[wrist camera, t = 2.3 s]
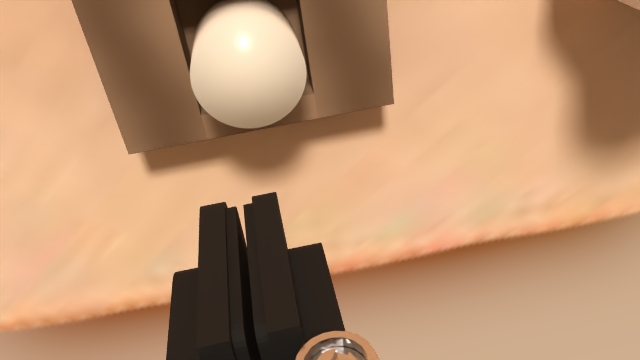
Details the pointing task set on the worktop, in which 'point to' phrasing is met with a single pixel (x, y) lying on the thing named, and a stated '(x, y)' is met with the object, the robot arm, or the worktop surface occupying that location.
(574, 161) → the worktop surface
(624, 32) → the worktop surface
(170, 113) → the button board
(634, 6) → the medicine bottle
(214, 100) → the cream egg
